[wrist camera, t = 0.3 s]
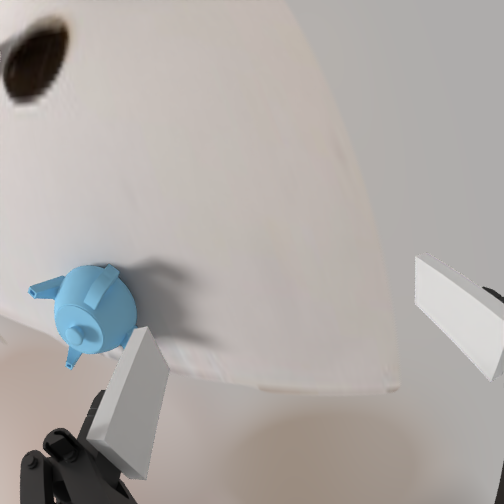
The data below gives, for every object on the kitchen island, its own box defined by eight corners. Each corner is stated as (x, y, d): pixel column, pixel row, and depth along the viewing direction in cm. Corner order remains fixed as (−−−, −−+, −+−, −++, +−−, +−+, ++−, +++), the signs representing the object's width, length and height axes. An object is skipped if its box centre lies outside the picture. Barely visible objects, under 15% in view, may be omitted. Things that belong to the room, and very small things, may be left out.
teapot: (156, 336, 45) (141, 380, 35) (85, 342, 45) (61, 379, 35) (127, 250, 40) (97, 280, 30) (53, 266, 40) (17, 294, 30)
